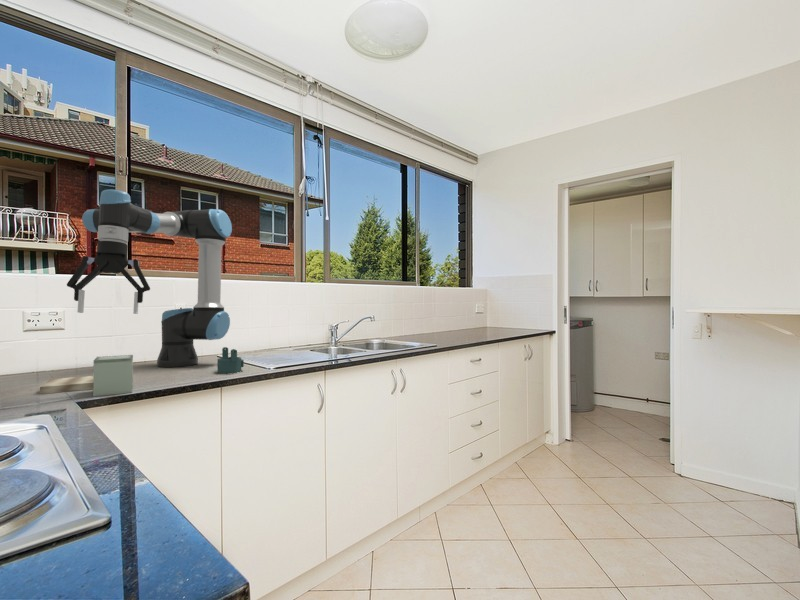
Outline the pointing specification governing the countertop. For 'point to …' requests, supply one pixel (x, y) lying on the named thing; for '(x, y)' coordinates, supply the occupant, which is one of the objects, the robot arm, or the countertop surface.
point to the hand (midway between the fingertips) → (108, 313)
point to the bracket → (229, 362)
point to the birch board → (67, 384)
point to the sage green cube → (113, 375)
